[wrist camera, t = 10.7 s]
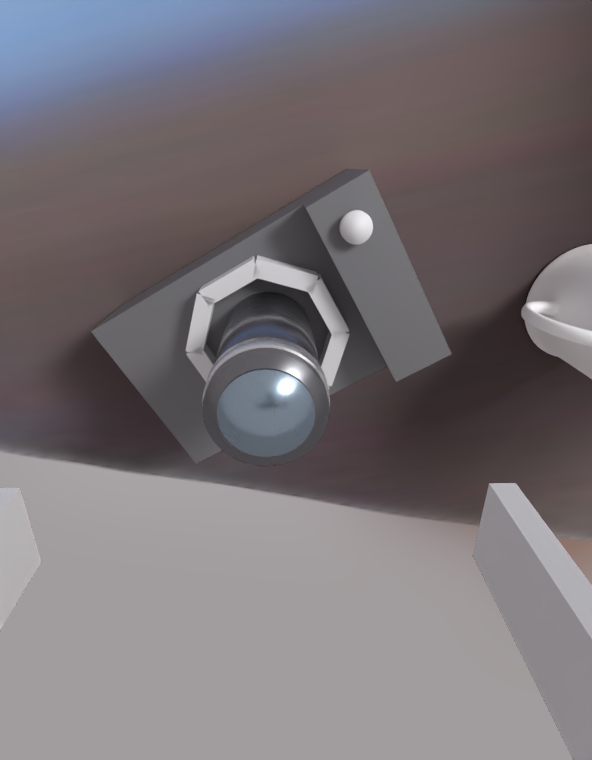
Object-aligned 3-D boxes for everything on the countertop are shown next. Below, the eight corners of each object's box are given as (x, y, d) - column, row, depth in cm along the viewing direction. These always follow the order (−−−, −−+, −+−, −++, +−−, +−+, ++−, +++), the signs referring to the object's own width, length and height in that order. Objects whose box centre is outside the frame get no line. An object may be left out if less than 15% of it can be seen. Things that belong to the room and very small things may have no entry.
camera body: (346, 169, 30) (371, 170, 22) (412, 312, 34) (455, 358, 26) (121, 304, 33) (70, 349, 25) (207, 420, 37) (188, 491, 29)
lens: (221, 289, 27) (194, 353, 18) (314, 290, 27) (335, 353, 18) (225, 375, 29) (203, 471, 20) (311, 374, 29) (329, 469, 20)
